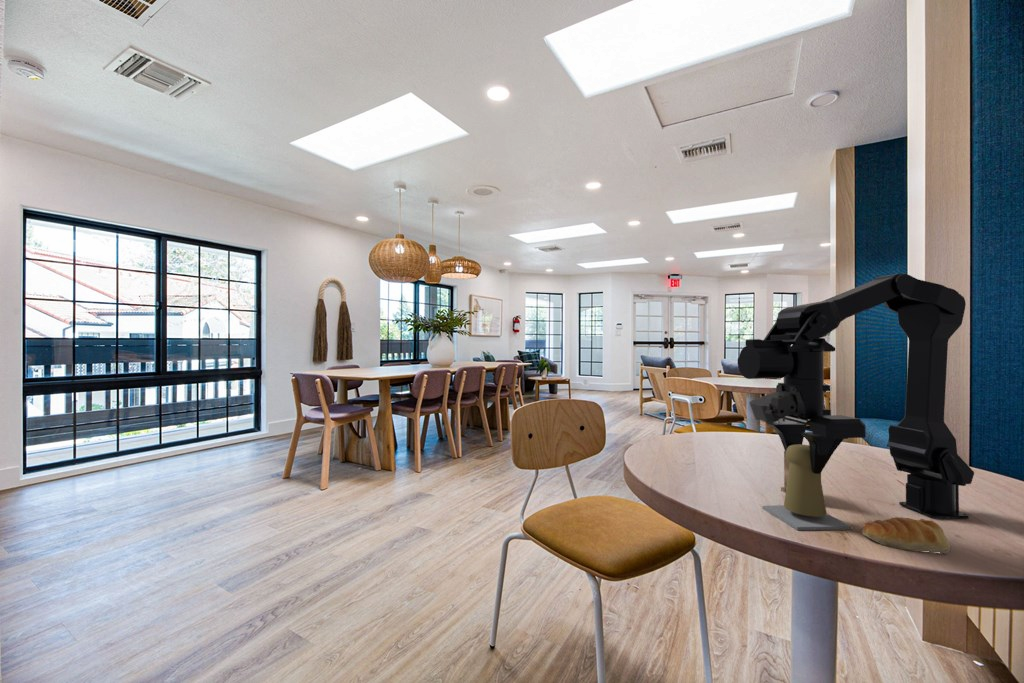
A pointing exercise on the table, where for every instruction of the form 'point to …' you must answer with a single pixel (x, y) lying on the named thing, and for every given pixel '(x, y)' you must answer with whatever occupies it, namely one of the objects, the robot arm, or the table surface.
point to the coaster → (806, 520)
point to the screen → (786, 472)
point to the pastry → (908, 534)
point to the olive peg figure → (803, 484)
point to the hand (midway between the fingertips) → (804, 468)
